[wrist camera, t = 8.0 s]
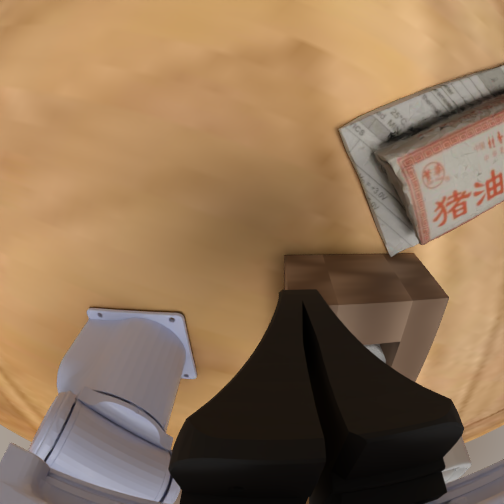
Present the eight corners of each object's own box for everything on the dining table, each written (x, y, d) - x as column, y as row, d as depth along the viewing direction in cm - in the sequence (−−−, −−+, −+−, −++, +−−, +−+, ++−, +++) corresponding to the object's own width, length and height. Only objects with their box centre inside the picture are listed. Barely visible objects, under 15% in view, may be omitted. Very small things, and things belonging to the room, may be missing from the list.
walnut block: (278, 424, 31) (279, 467, 26) (284, 255, 22) (289, 306, 16) (362, 418, 31) (370, 459, 25) (413, 253, 21) (449, 297, 16)
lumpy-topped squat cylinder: (396, 444, 35) (407, 491, 27) (468, 420, 33) (484, 461, 25) (386, 467, 39) (394, 507, 32) (450, 447, 38) (462, 484, 30)
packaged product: (549, 59, 9) (572, 183, 13) (510, 59, 13) (536, 167, 17) (351, 133, 14) (407, 285, 17) (331, 126, 18) (383, 251, 22)
